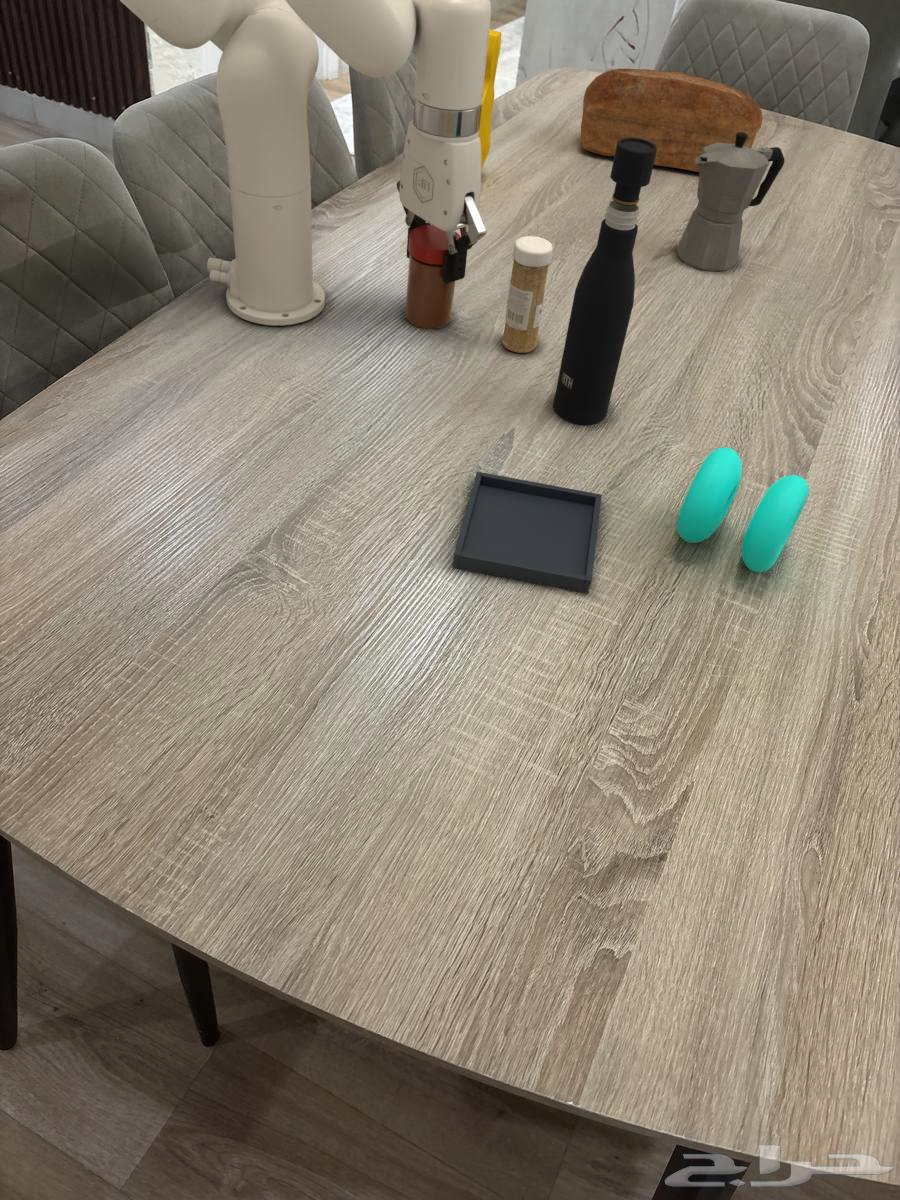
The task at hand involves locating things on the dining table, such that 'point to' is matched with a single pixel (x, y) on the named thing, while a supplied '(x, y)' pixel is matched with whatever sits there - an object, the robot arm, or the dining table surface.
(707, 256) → the coffeepot
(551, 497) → the slate tray
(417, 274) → the jam jar
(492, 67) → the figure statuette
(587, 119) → the bread
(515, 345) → the spice jar
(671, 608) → the dining table surface
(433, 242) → the jar lid
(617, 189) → the black bottle
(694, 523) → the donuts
